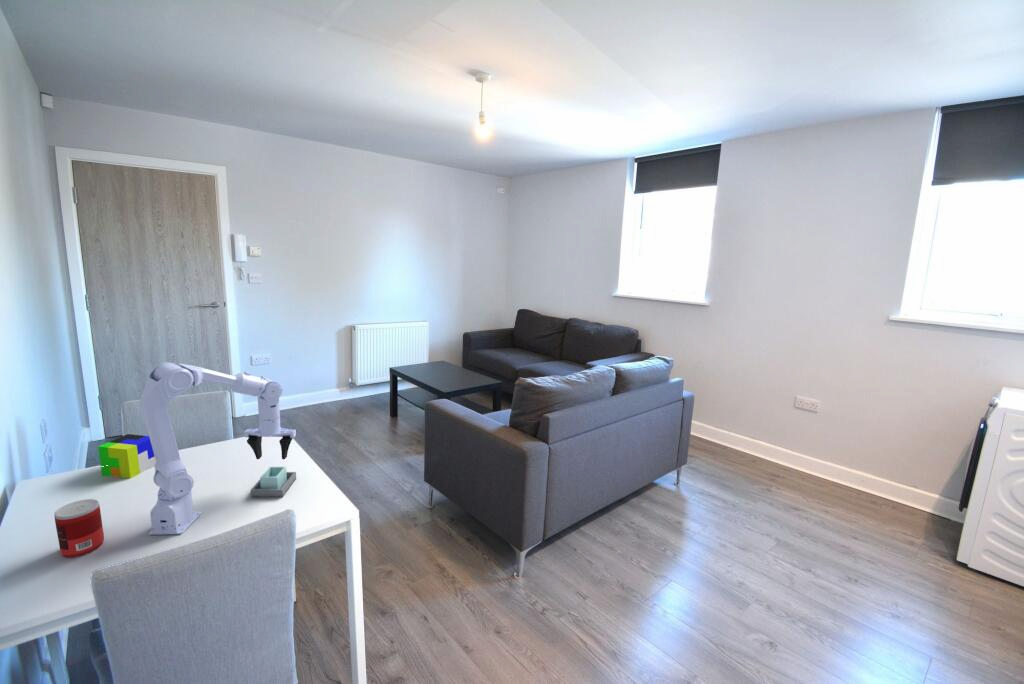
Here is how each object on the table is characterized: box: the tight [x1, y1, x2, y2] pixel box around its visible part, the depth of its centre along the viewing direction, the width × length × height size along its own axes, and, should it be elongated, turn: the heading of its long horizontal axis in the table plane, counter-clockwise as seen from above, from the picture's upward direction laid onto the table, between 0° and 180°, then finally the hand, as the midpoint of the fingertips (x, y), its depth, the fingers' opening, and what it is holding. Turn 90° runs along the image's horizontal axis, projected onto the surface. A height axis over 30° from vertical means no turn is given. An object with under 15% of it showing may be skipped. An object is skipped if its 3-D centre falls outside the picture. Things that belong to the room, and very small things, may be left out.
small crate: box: [259, 466, 287, 489], centre depth 141 cm, size 5×7×5 cm
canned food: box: [54, 498, 105, 558], centre depth 110 cm, size 8×8×11 cm
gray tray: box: [250, 471, 297, 498], centre depth 141 cm, size 9×11×2 cm
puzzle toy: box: [97, 433, 156, 479], centre depth 147 cm, size 10×10×10 cm
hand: (271, 457), depth 141 cm, fingers open, 7 cm apart
